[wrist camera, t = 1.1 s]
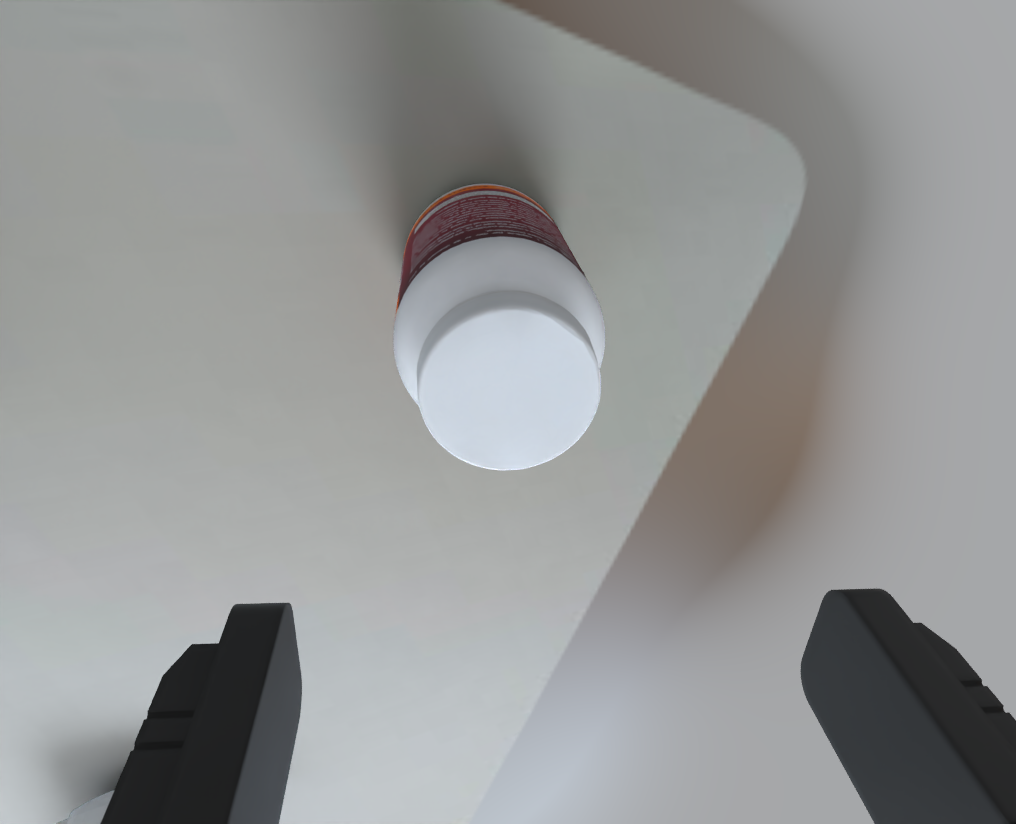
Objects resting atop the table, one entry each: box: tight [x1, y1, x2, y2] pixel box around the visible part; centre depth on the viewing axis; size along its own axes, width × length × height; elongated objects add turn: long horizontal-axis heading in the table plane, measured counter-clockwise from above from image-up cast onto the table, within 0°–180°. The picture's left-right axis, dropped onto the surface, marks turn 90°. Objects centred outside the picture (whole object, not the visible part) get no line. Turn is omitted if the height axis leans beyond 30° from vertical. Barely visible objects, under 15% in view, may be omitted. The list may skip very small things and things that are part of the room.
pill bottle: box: [394, 183, 605, 470], centre depth 22 cm, size 6×6×11 cm
